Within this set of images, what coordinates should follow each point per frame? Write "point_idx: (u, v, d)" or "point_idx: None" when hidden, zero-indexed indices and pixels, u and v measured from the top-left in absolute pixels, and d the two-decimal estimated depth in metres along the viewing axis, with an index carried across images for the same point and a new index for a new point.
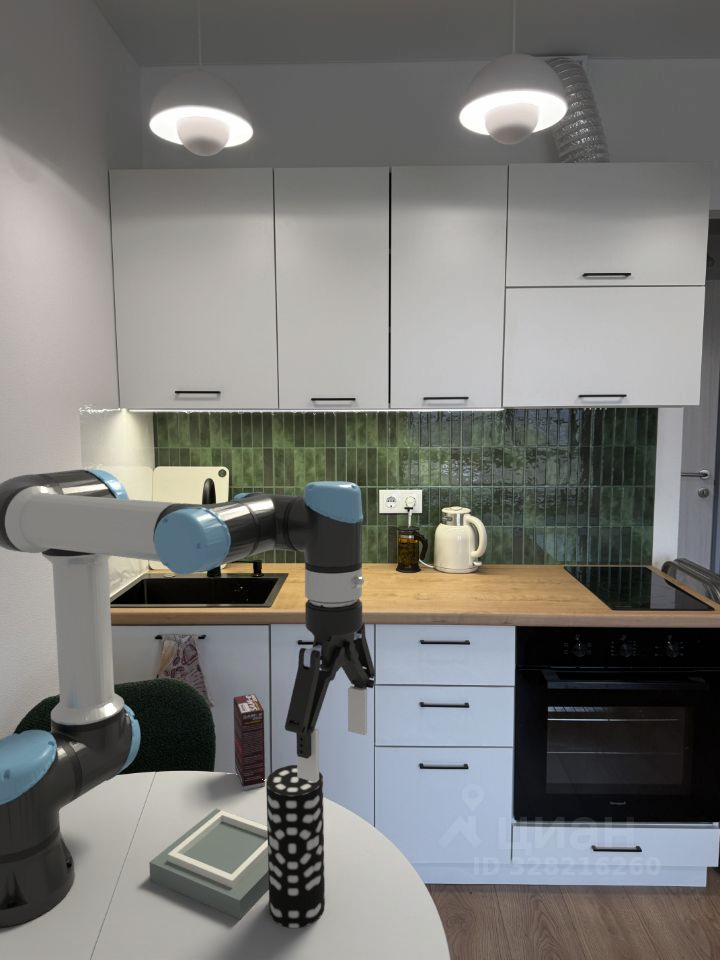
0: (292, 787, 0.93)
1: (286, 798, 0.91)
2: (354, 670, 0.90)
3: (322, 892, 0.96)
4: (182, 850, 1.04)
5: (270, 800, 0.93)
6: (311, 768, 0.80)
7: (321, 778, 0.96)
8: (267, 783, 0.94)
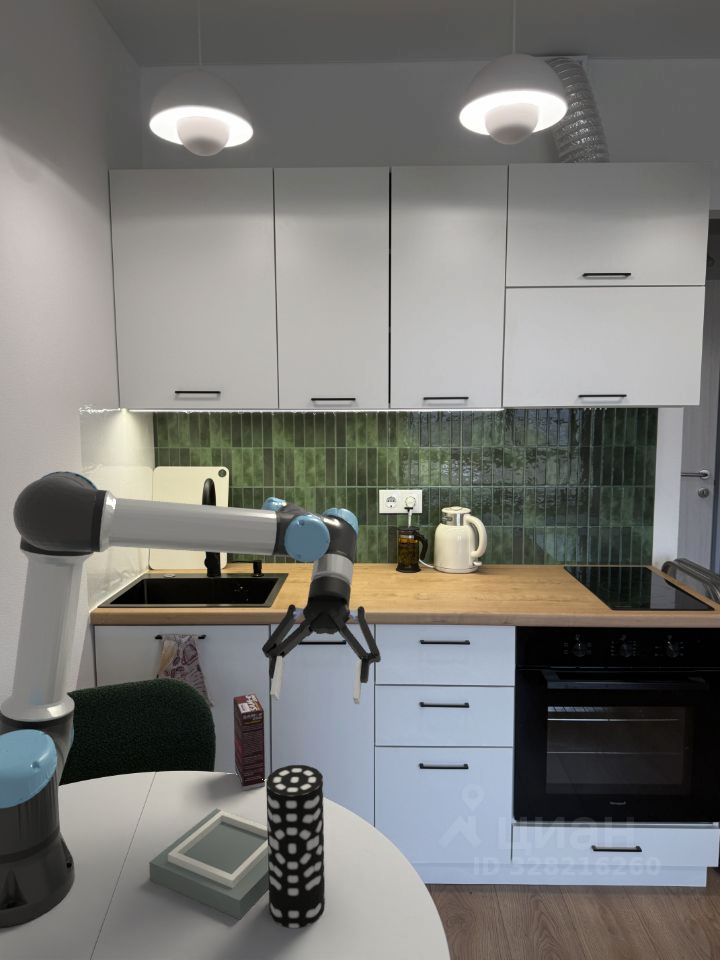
0: (292, 787, 0.93)
1: (286, 798, 0.91)
2: (299, 641, 1.13)
3: (322, 892, 0.96)
4: (182, 850, 1.04)
5: (270, 800, 0.93)
6: (360, 692, 1.06)
7: (321, 778, 0.96)
8: (267, 783, 0.94)
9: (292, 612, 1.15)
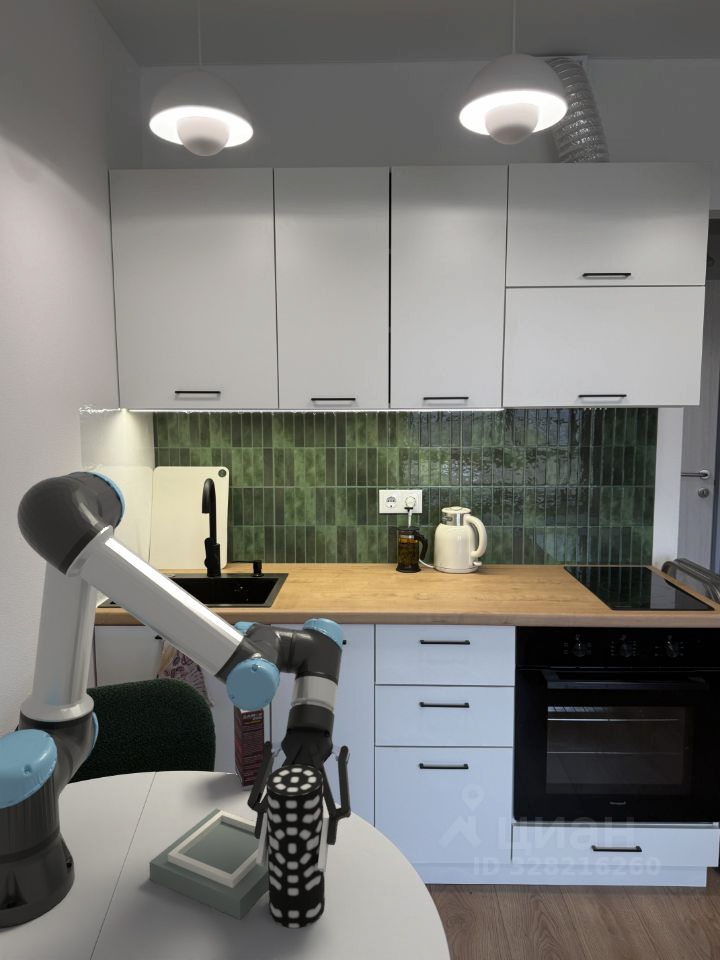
0: (292, 787, 0.93)
1: (286, 798, 0.91)
2: None
3: (322, 892, 0.96)
4: (182, 850, 1.04)
5: (270, 800, 0.93)
6: (326, 857, 0.94)
7: (321, 778, 0.96)
8: (267, 783, 0.94)
9: (270, 750, 1.03)
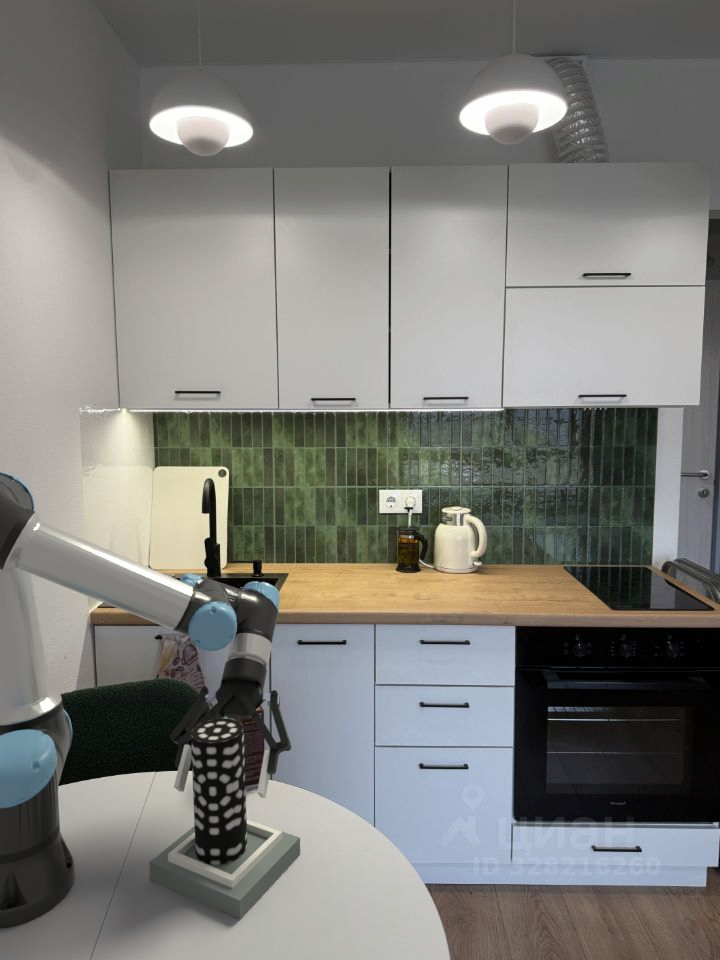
0: (213, 736, 1.02)
1: (206, 745, 1.00)
2: None
3: (243, 833, 1.04)
4: (182, 850, 1.04)
5: (193, 747, 1.02)
6: (266, 785, 1.03)
7: (242, 729, 1.05)
8: (191, 733, 1.04)
9: (204, 695, 1.12)
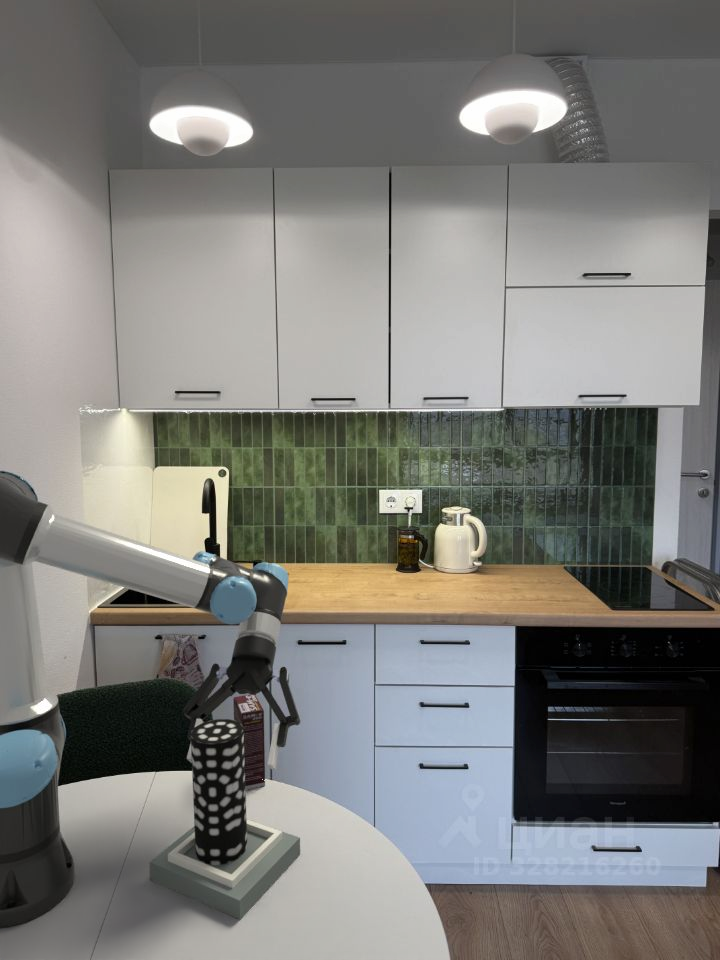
0: (213, 737, 1.02)
1: (206, 746, 1.00)
2: (220, 702, 1.13)
3: (243, 834, 1.04)
4: (182, 850, 1.04)
5: (193, 748, 1.02)
6: (276, 757, 1.06)
7: (241, 729, 1.04)
8: (191, 734, 1.03)
9: (215, 672, 1.15)
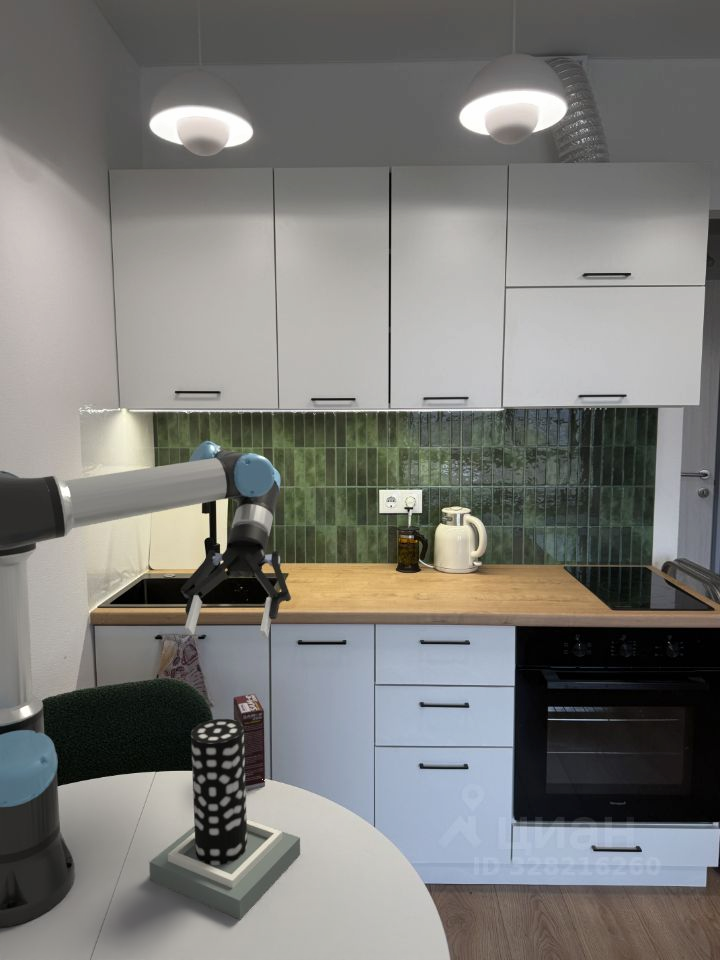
0: (213, 736, 1.02)
1: (206, 746, 1.00)
2: (216, 583, 1.21)
3: (243, 834, 1.04)
4: (182, 850, 1.04)
5: (193, 748, 1.02)
6: (268, 627, 1.14)
7: (242, 729, 1.04)
8: (191, 733, 1.03)
9: (211, 557, 1.23)
